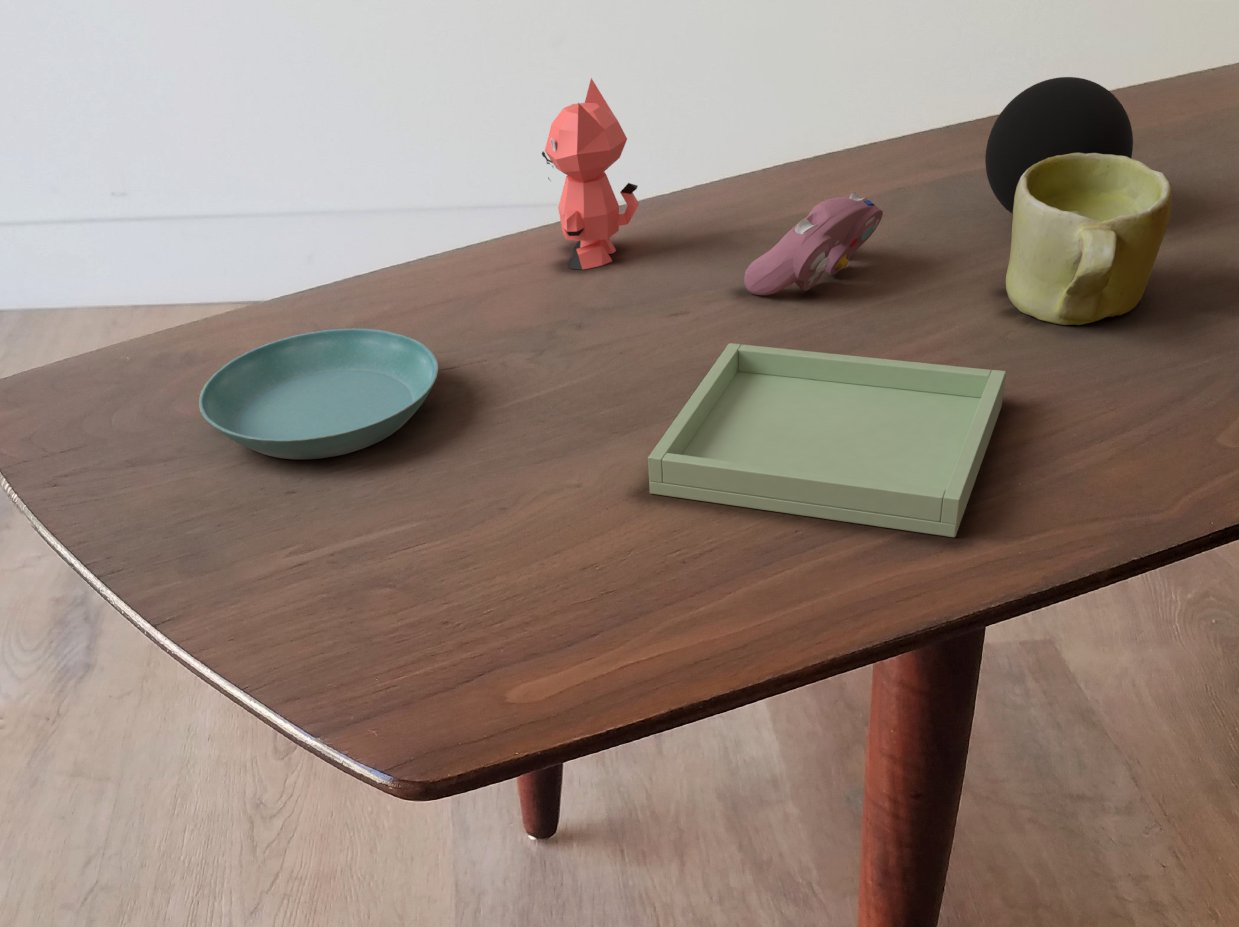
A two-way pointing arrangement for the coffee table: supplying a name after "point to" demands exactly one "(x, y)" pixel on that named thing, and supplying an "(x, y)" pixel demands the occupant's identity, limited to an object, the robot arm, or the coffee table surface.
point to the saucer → (320, 392)
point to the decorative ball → (1053, 130)
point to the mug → (1085, 236)
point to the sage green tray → (832, 437)
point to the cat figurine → (589, 177)
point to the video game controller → (815, 245)
